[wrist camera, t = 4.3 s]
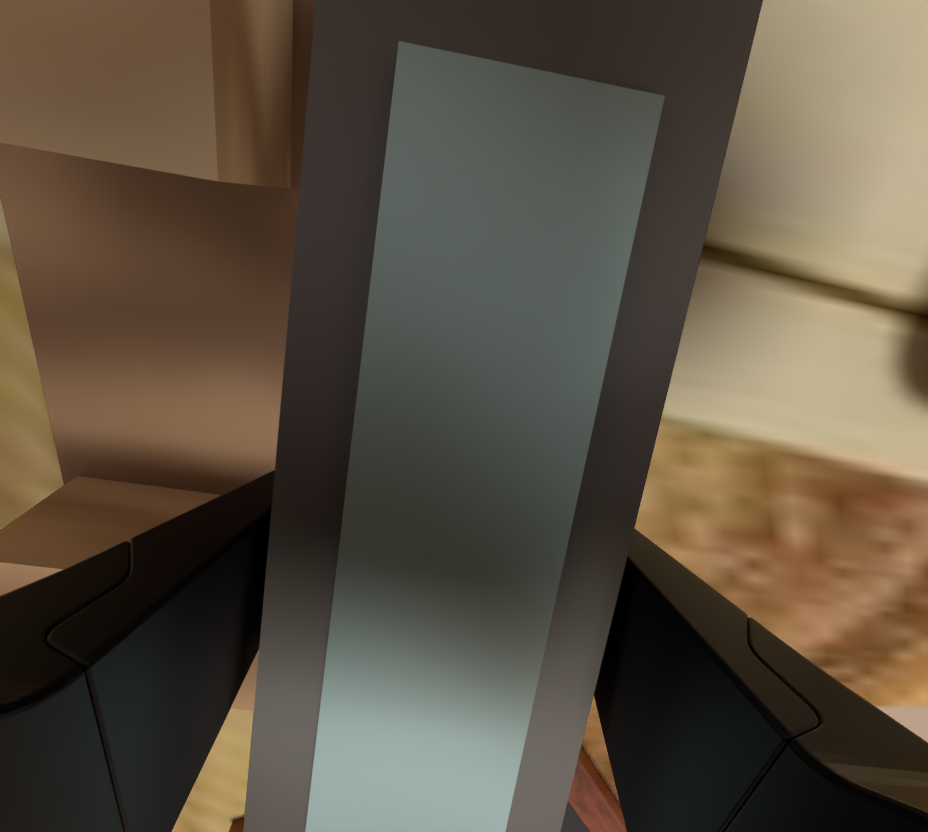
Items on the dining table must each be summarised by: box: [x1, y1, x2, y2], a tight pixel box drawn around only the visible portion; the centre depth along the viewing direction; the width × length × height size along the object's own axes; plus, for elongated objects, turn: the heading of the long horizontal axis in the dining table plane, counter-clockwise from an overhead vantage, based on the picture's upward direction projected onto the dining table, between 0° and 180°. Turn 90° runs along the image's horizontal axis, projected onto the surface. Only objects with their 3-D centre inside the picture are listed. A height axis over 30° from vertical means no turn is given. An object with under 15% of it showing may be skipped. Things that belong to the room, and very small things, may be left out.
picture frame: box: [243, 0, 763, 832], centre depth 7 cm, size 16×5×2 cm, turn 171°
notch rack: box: [0, 0, 316, 710], centre depth 13 cm, size 21×17×5 cm
